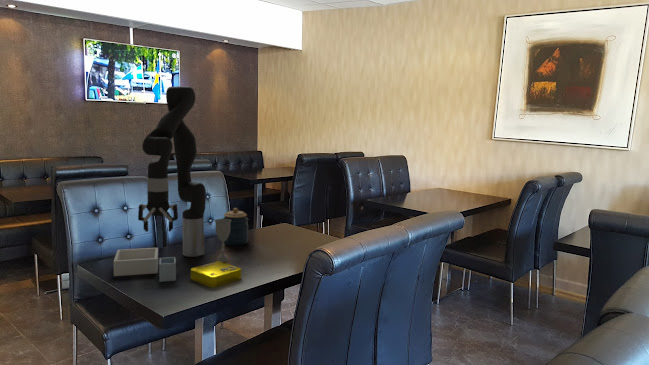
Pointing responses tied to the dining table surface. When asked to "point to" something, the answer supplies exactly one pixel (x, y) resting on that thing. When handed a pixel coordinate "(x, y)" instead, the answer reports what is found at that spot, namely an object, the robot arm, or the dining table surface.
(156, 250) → the large crate
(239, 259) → the dining table surface
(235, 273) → the element tile
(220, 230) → the chalice
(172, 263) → the small crate
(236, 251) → the dining table surface
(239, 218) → the canister
